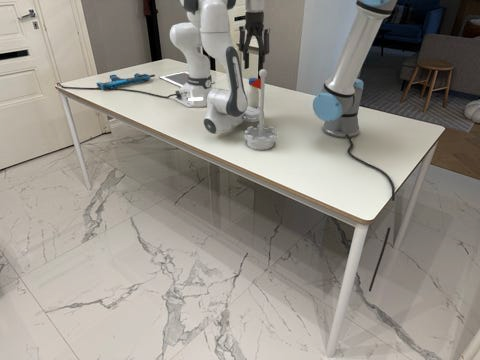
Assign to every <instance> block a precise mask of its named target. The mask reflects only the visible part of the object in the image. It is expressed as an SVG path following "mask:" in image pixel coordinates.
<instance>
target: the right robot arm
mask: <svg viewBox="0 0 480 360" xmlns="http://www.w3.org/2000/svg"><path fill="white" fill-rule="evenodd" d="M397 2H398V0H356V2H355V7H356V9H357V12H356V15H355V17H354V19H353V22H352V24H351V27H350V29H349V32H348V34H347V37H346V39H345V42H344V44H343V47H342V50H341V52H340V55H339V57H338V59H337V62H336V63H335V67H334V69H333V72H332V74H331V76H330V77H329V78H327V79H326V80H324V84H323V86H322V88H321V90H320V92H319V93H318V94H316V96H315V97H314V98H313V100H312V110H313V112H314V114H315V116H316V117H317V118H318V119H320V120H321V121H323V122H324V123H323V126H322V130H323V132H324V133H325V134H326V135H329V136H332V137H335V138H339V139H341V138H342V139H347V140H348V141H349V143H350V146H349V148H348V149H347V154H348V156H350V157H351V158H352V159H354V160H356V161H358V162H360V163H362V164H364V165H366V166H367V167H369V168H372V169H375V170H376V171H378V172H380V173H381V174H382V175H384V176H385V177H386V179H387V180H388V182H389V184H390V187H391V201H393V202H394V201H395V198H396V197H395V195H396V194H395V191H396V188H395V185H394V182H393V180H392V179H391V177H390V176H389V175H388V174H387V172H385V171H384V170H382V169H381V168H379V167H377V166H375V165H373V164H370V163H368V162H367V161H364V160H363V159H361V158H359V157H357V156H355V155H353V153H351V150H352V148H353V147H354V143H353V141H352V139H351V138H354V137H356V136H357V135H359V132H360V125H359V118H358V117H359V116H358V114H359V111H360V110H359V109H360V105H361V100H362V95H363V90H364V81H363V80H362V79H359V78H358V76H359V73H360V71H361V69H362V67H363V64H364V63H365V61H366V58H367V55H368V54H369V52H370V50H371V47H372V45H373V43H374V41H375V38H376V36H377V34H378V33H379V29H380V27H381V25H382V23H383V21H384V19H386V18H388V17H390V16H391V15H392V12H393V10H394V8H395V7H396V5H397ZM244 3H245V4H244V5H245V6H244V7H245V14H244V16H245V18H244V19H245V23H244V25H241V26H238V31H239V40H238V41H239V42H238V51H239V52H241V53H242V60H243V61H244V63H243V64H244V68H243V69H244V70H248V69H250V52H249V48H250V44H251V41H252V38H253V37H255V39H256V43H257V46H258V50H259V55H258V63H257V64H258V67H257V71H258V72H259V71H260V70H262V69H264V64H265V62H266V55H269V54H270V32H271V28H270V27H265V25H264V22H265V12H264V11H265V0H245V2H244ZM390 232H391V226H389V227H387V230H386V234H385V237H384V241H383V243H382V244H383V245H382V248H381V250H380V254H379V258H378V260H377V264H376V266H375V269H374V272H373V275H372V278H371V282H370V284H369V288H368V291H369V292H372V289H373V285H374V282H375V279H376V277H377V273H378V270H379V268H380V264H381V261H382V258H383V256H384V253H385V249H386V245H387V244H388V239H389V235H390Z"/></svg>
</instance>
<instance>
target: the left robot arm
mask: <svg viewBox="0 0 480 360" xmlns="http://www.w3.org/2000/svg"><path fill="white" fill-rule="evenodd" d="M179 3H180V5H181V7H182V8H183V10H185V11H186V16H187V19H188V22H179V23H176V24H173V25H172V26H171V28H170V30H169V40H170V41H171V43H172V45H173V46H174V47H175V48H177V49H178V50H180V52H181V53H182V54H183V56H184V58H185V60H186V64H187V70H188V71H187V72H189V76H185V77H186V78H188V79H187V83H185V84H184V85H183V86H182V87H180V88H179V90H175V92H174V93H172V94H169V95H168V96H164V95H160V94H155V93H151V92H147V91H143V90H137V89H136V90H135V89H129V88H117V87H116V88H115V89H114V88H108V89H105V90H106V91H107V90H108V91H109V90H113V91H126V92H134V93H141V94H146V95H150V96H154V97H159V98H163V99H168V98H170V97H174V96H175V98H174V100H175V101H176V102H178V103H180V104H181V105H184V106H186V107H188V108H202V107H206V113H205V117H204V118H203V126H204V128H205V129H206V130H207V132H209V133H210V134H214V135H216V134H220V133H223V132H226V131H227V130H229V129H230V128H234V127H236V126H238V125H241V124H242V123H243V122H244V121H247V122H250V123H256V122H259V118H260V105H259V106H258V107H256V108H253V107H250V106H248V101H247V93H246V91H245V86H244V80H243V74H242V67H241V62H240V57H239V53H238V51H237V49H236V48H235V46H234V44H233V40H232V37H231V25H230V18H229V17H230V16H229V12H228V11H229V10H232V9H234V8H235V6H236V3H237V0H179ZM198 48H203V50H204V51H205V52H206V53H207V55H208V56H207V55H205V54H203V53H201V52H199V51H198ZM209 57H211V58H213V59H215V60H216V61H218V62H219V63H220V64H221V65H222V66H223V68H224V70H225V73H226V78H227V84H228V89H226V88H220V87H213V83H212V82H213V77H212V74H211V61H210V59H209ZM56 86H59V87H61V88H62V89H63V88H64V89H74V90H102V89H101V88H100V87H76V86H64V85H62V84H61V83H60V82H57V83H56ZM264 118H265V113H264V114H263V120H264Z"/></svg>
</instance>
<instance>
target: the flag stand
mask: <svg viewBox="0 0 480 360" xmlns="http://www.w3.org/2000/svg"><path fill="white" fill-rule="evenodd" d="M258 75H259V78H257V79H258V80H256V81H255V82H253V83H252V84H250V85H251V86H253V87H256V88H258V90H259V107H260V118H259V121H258V122H259V123H258V124H257V127H254V126H253V125H250V126H248V127H247V129H244V139H245V140H246V145H247V146H248V147H249V148H251V149H253V150H261V151H262V150H263V151H264V150H269V149H272V147H273V146H274V145H275V141H276V140H277V138H278V130H276V129H275V127H273V126H270V125H269V126H267V127H264V119H263V114H264V115H265V110H264V109H265V85H266V84H265V83H266V77H267V75H268V71H267V70H266V69H264V68H263V69H262V70H260V71H258ZM250 85H249V86H250Z"/></svg>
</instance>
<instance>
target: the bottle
mask: <svg viewBox="0 0 480 360" xmlns="http://www.w3.org/2000/svg"><path fill="white" fill-rule="evenodd" d="M246 97H247V101H248V106H250V107H253V108H256V107H258V106H259V107H260V89H258V88H256V87H253V86H251V85H249V87H248V88H247V90H246Z"/></svg>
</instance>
